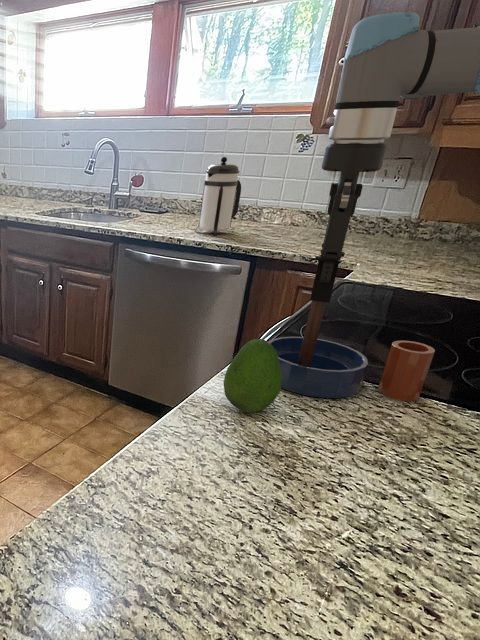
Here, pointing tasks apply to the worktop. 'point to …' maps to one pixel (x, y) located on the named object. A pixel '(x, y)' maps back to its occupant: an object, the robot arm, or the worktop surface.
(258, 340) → the avocado
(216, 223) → the coffee press
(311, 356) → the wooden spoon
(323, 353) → the bowl
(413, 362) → the crock
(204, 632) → the worktop surface
